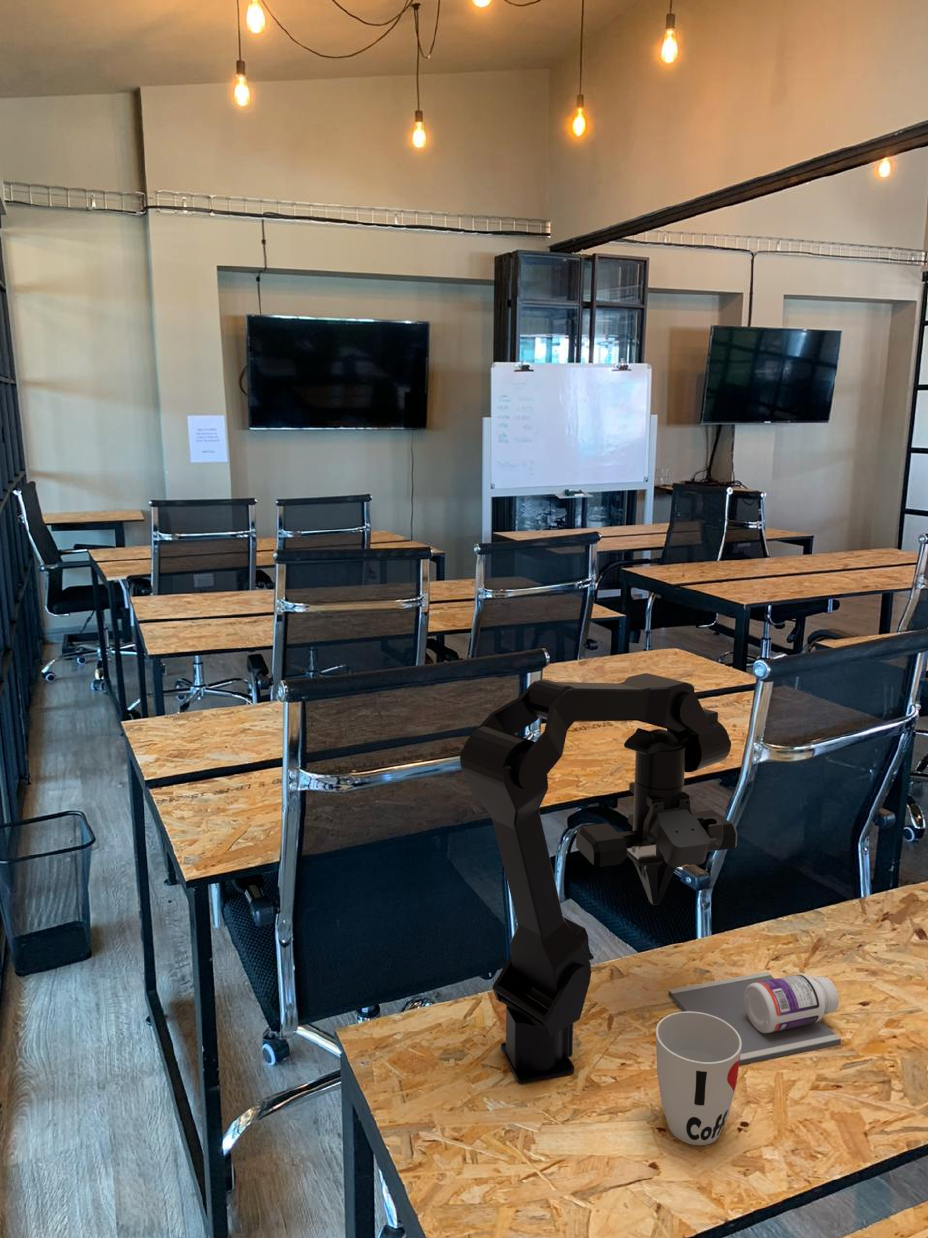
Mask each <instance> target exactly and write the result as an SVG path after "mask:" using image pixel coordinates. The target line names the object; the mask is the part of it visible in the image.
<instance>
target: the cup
mask: <svg viewBox="0 0 928 1238" xmlns="http://www.w3.org/2000/svg"><path fill="white" fill-rule="evenodd" d="M741 1046H742V1042H741V1038H740V1036H739V1034H738V1032H737V1031H736V1030H735V1029H734V1028H733V1027H732V1026H731V1025H730V1024H728V1023H727V1022H725V1021H724V1020H722V1019H720V1018H717V1017H715V1016H712V1015H709V1014H705V1013H701V1012H691V1011H686V1012H683V1011H678V1012H674V1013H673V1012H672V1013H671V1014H668V1015H666V1016H664V1017H663V1018H662V1019H660V1020H659V1022H658V1023H657V1025H656V1028H655V1049H656V1052H655V1053H656V1072H657V1073H656V1074H657V1079H658V1088H659V1089H658V1090H659V1095H660V1096H659V1097H660V1102H661V1106H662V1109H663V1113H664V1116H665V1120H666V1123H667V1127H668V1128H669V1131H670V1132H671V1134H672V1135H674V1137H675V1138H677V1139H678V1140H680V1141H682V1142H683V1143H686V1144H689V1145H693V1146H707V1145H710V1144H713V1143H715V1142H716V1141H717V1140H718V1139H719V1137H720V1134H721V1133H722V1130H723V1128H724V1126H725V1124H726V1122H727V1119H728V1117H729V1115H730V1111H731V1107H732V1103H733V1099H734V1096H735V1092H736V1087H737V1084H738V1077H739V1068H740V1066H739V1062H740V1054H741Z"/></svg>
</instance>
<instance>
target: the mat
mask: <svg viewBox="0 0 928 1238" xmlns="http://www.w3.org/2000/svg"><path fill="white" fill-rule="evenodd" d="M772 979H775V977H773V976H772V974H771V973H770V972H769V971H764V972H763V971H762V972H757V973H753V974H747V975H741V976H736V977H730V978H724V979H720V980H714V981H708V982H704V983H702V982H701V983H698V984H697V983H696V984H693V985H687V986H681V987H676V988H671V989H668V996H669V997H670V998H671V999H672V1000H673V1002H674V1003H675V1004H676V1005H677V1006H678V1008H679V1009H680V1010H681V1012H686V1011H691V1012H701V1013H705V1014H709V1015H712V1016H715V1017H717V1018H720V1019H722V1020H724V1021H725V1022H727V1023H728V1024H730V1025H731V1026H732V1027H733V1028H734V1029H735V1030H736V1031H737V1032H738V1034H739V1036H740V1038H741V1042H742V1046H741V1054H740V1062H739V1067H740V1066H743V1065H747V1064H748V1065H749V1064H753V1063H758V1062H763V1061H767V1060H772V1059H776V1058H781V1057H786V1056H790V1055H795V1054H800V1053H805V1052H808V1051H813V1050H814V1051H815V1050H819V1049H823V1048H827V1047H833V1046H836V1045H841V1042H842V1038H841V1037H840V1036H839V1035H838V1034H837V1033H835V1032H834V1031H833V1030H832V1029H830V1028H829V1027H828V1026H827V1024H825V1023H824V1022H823V1021H822V1020H821V1019H820V1020H819V1021H818V1022H816V1023H812V1024H808V1025H803V1026H798V1027H794V1028H789V1029H784V1030H780V1031H775V1032H770V1033H762V1032H760V1031H758V1030H757V1029H756V1028H755V1027H754V1025H753V1024H752V1023H751V1021H750V1019H749V1017H748V1015H747V1012H746V1008H745V1003H744V994H745V990H746V988H747V986H748V985H750V984H752V983H756V982H762V981H767V980H772Z"/></svg>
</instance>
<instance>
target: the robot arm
mask: <svg viewBox="0 0 928 1238" xmlns="http://www.w3.org/2000/svg"><path fill="white" fill-rule="evenodd" d="M695 689H696V688H695V686H694V685H693V683H691V682H687V681H682V680H679V679H678V680H676V679H675V678H674V679H673V678H671V677H670V678H669V677H665V676H662V675H661V676H660V675H657V674H653V673H648V672H646V673H639V674H635V675H632V676H631V675H630V676H628V677H627V678H625V680H624V681H622V682H616V683H614V682H613V683H612V682H584V681H583V682H579V681H578V682H577V681H572V682H571V681H552V680H548V679H545V678H543V679H540V680H534V681H533V682H532V683H531V684H529V685H528V687H527V688H526V689H525V690H524V691H523V692H522V693H521V694H520V696H518V697H516V698H515V699H513V700H511V701H510V702H508V703H506V704H504V705H503V706H500V707H499V708H497V709H496V710H493V711H491V713H490V714H488V716H487V717H486V718H485V719H484V720H483V721H482V723H481V724H480V725H479V726H478V728H475V729H476V730H474V731H473V733H471V734H470V736H469V737H468V739H467V740H466V742H464V744H463V748H462V749H461V750H460V753H459V763H460V768H461V771H462V774H463V776H464V778H465V780H466V783H467V784H468V786H469V788H470V790H471V792H472V794H473V795H474V797H476V799H477V800H478V802H479V803H480V804H481V805H482V806H483V807H484V809H485V810H486V812H487V813H488V814H489V816H490V818H491V821H492V825H493V829H494V833H495V837H496V840H497V841H496V842H497V846H498V849H499V853H500V858H501V862H502V866H503V871H504V874H505V877H506V881H507V886H508V890H509V894H510V897H511V901H512V906H513V910H514V914H515V918H516V922H517V926H516V929H515V931H514V934H513V935H512V937H511V939H510V944H509V946H510V947H509V948H510V956H509V958H508V960H507V962H506V963H505V964H504V966H503V968H502V970H501V972H500V973H499V974H498V976H497V978H496V979H495V982H494V983H493V984H492V991H493V994H494V997H495V999H496V1001H497V1002H499V1003H502V1004H503V1005H505V1041H503V1042H501V1043H500V1050H501V1052H502V1054H503V1057H504V1058H505V1059H506V1062H507V1064H508V1066H509V1068H510V1069H511V1071H512V1074H513V1075H514V1077H515V1079H516V1082H518V1083H519V1084H526V1083H532V1082H535V1081H537V1082H538V1081H542V1080H546V1079H551V1078H556V1077H560V1076H566V1075H570V1074H574V1073H575V1065H574V1064H573V1062H572V1061H571V1059H570V1058H572V1056H573V1054H574V1053H573V1051H574V1024H575V1023H576V1022H578V1021H580V1020H581V1017H582V1013H583V1010H584V1006H585V1002H586V998H587V994H588V990H589V987H590V983H591V975H592V968H591V967H592V965H591V964H592V963H591V960H594V958H595V956H594V955H593V953H592V952H591V949H590V944H589V934H588V933H587V930H586V928H585V927H583V926H582V925H580V924H578V923H576V922H574V921H572V920H570V919H568V918H567V917H565V916H564V915H563V910H562V906H561V901H560V898H559V897H560V896H559V892H558V888H557V883H556V880H555V875H554V871H553V865H552V862H551V857H550V853H549V848H548V843H547V838H546V834H545V830H544V825H543V821H542V816H541V812H540V811H541V810H540V808H541V805H542V803H543V802H544V799H545V796H546V794H547V792H548V790H549V779H548V778H549V777H548V774H549V773H550V772H551V771H552V769H553V768H554V767H555V765H556V764H557V763H558V762H559V761H560V759H561V758H562V756H563V753H564V750H565V744H566V738H567V733H568V730H569V729H570V728H571V726H573V724H574V723H577V722H578V723H583V722H585V723H586V722H640V723H644V724H648V725H651V726H655V727H659V728H656V729H652V730H648V729H644V728H640V727H637V728H636V729H635V731H634V733H633V734H632V735H630V736H629V737H628V738H626V740H625V742H624V745H623V747H624V748H625V749H627V750H630V751H634V752H635V762H634V763H635V766H634V781H633V782H629V785H628V786H629V792H631V793H632V794H633V813H631V814H627V815H628V817H627V818H628V819H627V823H628V824H629V825H630V826H631V827H632V830H629V831H627V830H626V831H620V832H618V831H617V830H616V829H615V828H614V827H613V826H611V825H610V824H609V822H607V823H597V824H590V825H583V826H581V827H580V828H579V829H578V831H577V833H576V835H575V848H576V849H577V851H579V852H580V853H581V854H582V855H583V856H584V857H585V858H586V860H588V861H589V863H591V865H593V866H595V867H597V868H598V867H600V868H602V867H609V866H617V865H621V864H622V863H623V862H624V860H625V859H626V858H627V857H628V858H629V859H630V860H631V861H633V864H634V866H635V868H636V870H637V873H638V875H639V879H640V881H641V883H642V886H643V888H644V890H645V894H646V896H647V898H648V901H649V903H650V904H651V905H653V906H656V905H660V903H661V902H662V901H661V900H662V899H663V897H664V894H665V892H666V890H667V888H668V885H669V884H670V881H671V879H672V877H673V875H674V873H675V871H676V870H677V868H681V867H683V866H689V865H697V866H699V865H702V864H704V863H705V862H706V858H707V854H708V852H709V853H710V852H715V851H716V852H717V851H724V850H730V849H731V850H732V849H736V847H737V846H738V845H737V843H738V831H737V828H736V826H735V825H734V824H733V823H732V822H731V821H730V820H728V819H727V818H725V817H724V816H722V815H721V814H719V813H718V812H716V811H715V810H713V809H711V810H703V811H701V810H700V811H693V812H692V809H691V799H690V795H689V793H687V792H685V791H684V790H685V789H684V788H685V774H686V773H693V772H697V771H700V770H702V769H704V768H708V767H710V766H712V765H716V764H717V763H720V762H722V761H724V760H726V759H727V757H728V756H729V755H730V752H731V749H732V741H731V739H730V736H729V733H728V731H727V729H726V728H725V727H724V725H723V724H722V723H721V722H720V721H718V720H719V713H718V711H715V710H711V709H706V708H703V707H702V705H701V703H700V700H699V699H698V697H697V695H696V692H695ZM539 719H544V720H545V725H544V731H543V732H542V733H541V734H540V735H539V736H538V738H537V739H536V740H535V741H534V740H531V739H528V738H526V737H523V736H520V735H518V734H517V733H518V732H520V731H522V730H524V729H526V728H528V727H530V726H531V725H533V724H534V723H535V722H537V721H538V720H539Z"/></svg>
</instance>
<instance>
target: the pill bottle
mask: <svg viewBox="0 0 928 1238" xmlns="http://www.w3.org/2000/svg"><path fill="white" fill-rule="evenodd" d="M744 1003H745V1008H746V1012H747V1015H748V1017H749V1019H750V1021H751V1023H752V1024H753V1025H754V1027H755V1028H756V1029H757V1030H758V1031H760V1032H762V1033H770V1032H775V1031H780V1030H784V1029H789V1028H794V1027H798V1026H803V1025H808V1024H812V1023H816V1022H818V1021H819V1020H820V1021H821V1019H823V1016H824V1015H828V1014H830V1013H834V1012H836V1011H837V1010H838V1008H839V1004H840V1000H839V994H838V991H837V989H836V987H835V985H834V983H833V982H832V981H831V979H829V978H827V977H826V976H824V975H823V976H816V977H811V976H810V975H807V974H804V973H798V974H791V975H788V976H783V977H778V978H774V979H772V980H767V981H762V982H756V983H752V984H750V985H748V986H747V988H746V990H745V994H744Z"/></svg>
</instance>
